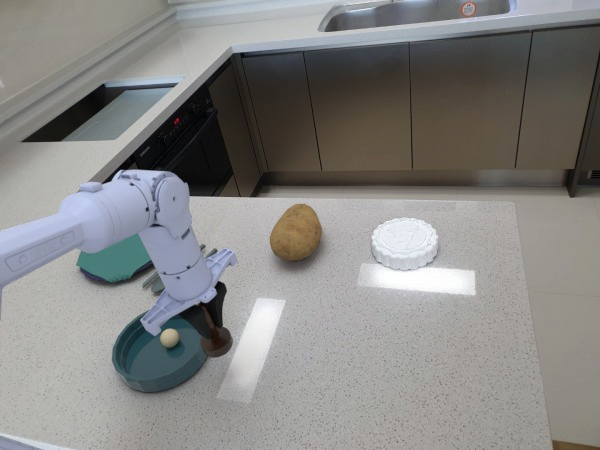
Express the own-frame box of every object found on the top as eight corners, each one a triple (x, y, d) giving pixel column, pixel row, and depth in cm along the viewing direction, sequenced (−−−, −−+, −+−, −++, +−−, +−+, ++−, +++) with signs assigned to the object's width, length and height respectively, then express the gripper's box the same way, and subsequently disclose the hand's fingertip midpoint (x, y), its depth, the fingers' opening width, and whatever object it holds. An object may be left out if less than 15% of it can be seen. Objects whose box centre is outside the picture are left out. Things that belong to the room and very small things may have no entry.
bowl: (158, 411, 67) (150, 398, 65) (102, 365, 75) (93, 352, 73) (231, 338, 75) (225, 324, 73) (173, 305, 84) (166, 291, 82)
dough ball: (171, 354, 74) (165, 342, 72) (160, 346, 76) (153, 334, 74) (185, 341, 76) (179, 329, 74) (174, 334, 78) (168, 322, 76)
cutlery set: (135, 217, 110) (132, 209, 109) (227, 249, 95) (224, 240, 93) (64, 269, 98) (59, 261, 97) (155, 316, 82) (151, 307, 81)
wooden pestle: (217, 363, 63) (198, 322, 58) (197, 349, 66) (176, 309, 61) (239, 340, 66) (222, 299, 60) (218, 328, 68) (201, 287, 63)
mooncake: (385, 224, 92) (384, 210, 90) (445, 235, 87) (446, 220, 85) (362, 262, 85) (360, 248, 83) (426, 277, 79) (426, 262, 77)
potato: (330, 227, 95) (325, 195, 90) (317, 274, 84) (310, 241, 79) (285, 226, 98) (277, 195, 93) (267, 272, 87) (258, 240, 82)
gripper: (150, 311, 49) (190, 383, 57) (242, 232, 57) (266, 305, 65) (114, 288, 53) (157, 358, 61) (205, 217, 61) (231, 288, 69)
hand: (211, 329), depth 64 cm, fingers closed on wooden pestle
